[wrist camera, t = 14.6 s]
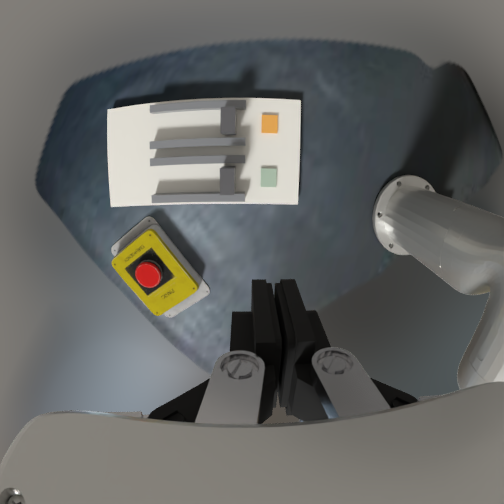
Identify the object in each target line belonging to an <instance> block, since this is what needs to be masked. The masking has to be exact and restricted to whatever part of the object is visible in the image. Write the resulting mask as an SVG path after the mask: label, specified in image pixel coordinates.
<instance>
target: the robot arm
mask: <svg viewBox="0 0 504 504" xmlns="http://www.w3.org/2000/svg"><path fill="white" fill-rule="evenodd" d="M378 212H379V214H378ZM377 214H378V215H377ZM373 227H374V231H375V234H376V237H377V238H378V240H379V242H380V243H381V244H382V245H383V246H384V247H385V248H386V249H387V250H389V251H391V252H393V253H395V254H399V255H408V254H411V255H412V256H414V257H415V258H416V259H418V260H419V261H420V262H422V263H423V264H424V265H425V266H427V267H428V268H429V269H430V270H432V271H433V272H434V273H435V274H437V275H438V276H439V277H440V278H442V279H443V280H444V281H445V282H447V283H448V284H449V285H451V286H452V287H453V288H454V289H456V290H457V291H459V292H461V293H464V294H468V295H477V294H483V293H487V292H490V295H489V298H488V301H487V303H486V306H485V309H484V313H483V315H482V318H481V320H480V322H479V324H478V326H477V328H476V331H475V333H474V335H473V337H472V339H471V341H470V343H469V345H468V347H467V349H466V351H465V353H464V355H463V357H462V360H461V362H460V364H459V368H458V374H457V380H458V385H459V388H460V390H458V391H455V392H451V393H448V394H445V395H440V396H439V395H438V396H422V397H419V399H418V400H417V399H416V398H415V397H413V396H411V395H409V394H407V393H405V392H402V391H400V390H398V389H395V388H393V387H391V386H388V385H386V384H383V383H381V382H379V381H376V380H374V379H372V378H370V377H369V376H368V374H367V373H366V372H365V370H364V369H363V367H362V366H361V364H360V363H359V362H358V360H357V359H356V357H355V356H354V355H353V354H352V353H350V352H349V351H347V350H344V349H341V348H335V347H331V346H330V344H329V341H328V339H327V336H326V334H325V331H324V329H323V326H322V324H321V321H320V319H319V316H318V314H317V312H316V311H315V310H313V311H306V310H305V307H304V304H303V301H302V298H301V295H300V293H299V290H298V287H297V284H296V281H295V279H281V280H280V283H275V293H274V295H273V289H272V284H271V283H266V280H252V306H251V312H232V324H231V341H230V352H228V353H225V354H223V355H222V356H221V357H219V358H218V360H217V361H216V363H215V366H214V369H213V372H212V374H211V378H210V379H208V380H206V381H205V382H203V383H201V384H200V385H198V386H196V387H195V388H193V389H191V390H189V391H187V392H186V393H184V394H182V395H180V396H179V397H177V398H175V399H173V400H171V401H169V402H168V403H166V404H164V405H162V406H160V407H158V408H157V409H155V410H154V411H152V412H151V413H150V415H142V412H94V411H72V410H71V411H57V412H50V413H46V414H42V415H39V416H37V417H35V418H33V419H32V420H31V421H29V422H28V423H27V424H26V425H25V426H24V427H23V429H22V430H21V431H20V433H19V434H18V435H17V437H16V438H15V439H14V441H13V442H12V444H11V446H10V447H9V449H8V451H7V452H6V454H5V456H4V458H3V460H2V462H1V464H0V504H504V218H503V217H501V216H498V215H495V214H492V213H490V212H487V211H485V210H482V209H480V208H477V207H474V206H472V205H469V204H466V203H464V202H461V201H458V200H455V199H452V198H450V197H447V196H444V195H441V194H438V193H436V192H435V190H434V189H433V187H432V186H431V185H430V184H429V183H428V182H427V181H426V180H424V179H422V178H421V177H417V176H413V175H402V176H399V177H396V178H394V179H393V180H391V181H390V182H389V183H387V184H386V185H385V186H384V188H383V189H382V190H381V192H380V193H379V195H378V197H377V199H376V202H375V205H374V209H373ZM277 392H278V396H279V403H280V407H285V408H286V414H287V415H294V416H295V417H297V418H299V419H300V420H299V422H294V423H293V422H292V423H278V424H277V423H275V424H262V423H263V422H264V421H265V420H267V419H268V418H269V417H270V416H271V415H272V410H273V408H275V407H276V401H277Z"/></svg>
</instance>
